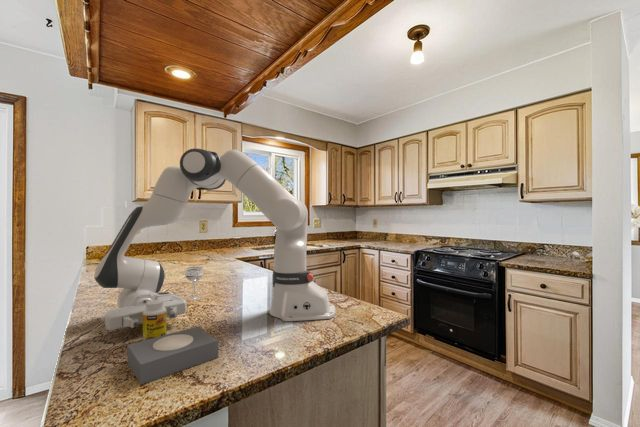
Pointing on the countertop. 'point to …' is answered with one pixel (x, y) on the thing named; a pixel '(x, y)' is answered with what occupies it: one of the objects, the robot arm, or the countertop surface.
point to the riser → (170, 353)
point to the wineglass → (194, 277)
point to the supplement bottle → (154, 320)
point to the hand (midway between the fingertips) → (155, 319)
